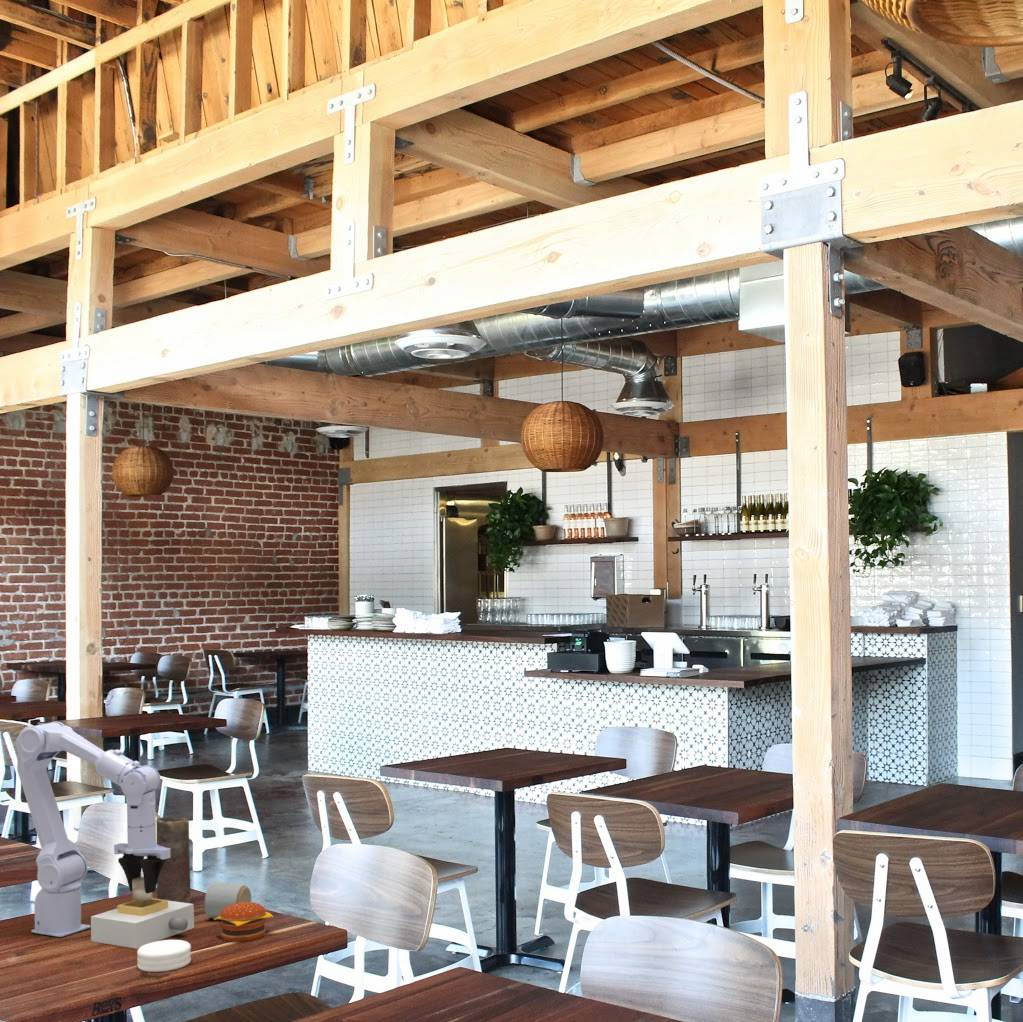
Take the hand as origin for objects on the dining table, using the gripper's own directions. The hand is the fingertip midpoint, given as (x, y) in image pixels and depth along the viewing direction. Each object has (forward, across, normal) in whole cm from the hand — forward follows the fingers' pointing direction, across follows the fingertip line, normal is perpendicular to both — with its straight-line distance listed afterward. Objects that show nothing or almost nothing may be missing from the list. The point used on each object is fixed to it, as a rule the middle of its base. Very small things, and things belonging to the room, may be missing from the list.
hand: (142, 891), depth 256 cm
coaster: (+9, +20, -13) cm, 25 cm away
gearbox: (+9, +2, 0) cm, 9 cm away
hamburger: (+9, +20, +8) cm, 24 cm away
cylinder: (+2, 0, 0) cm, 2 cm away
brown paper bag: (+9, -10, +19) cm, 24 cm away
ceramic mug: (+9, +7, +18) cm, 22 cm away
